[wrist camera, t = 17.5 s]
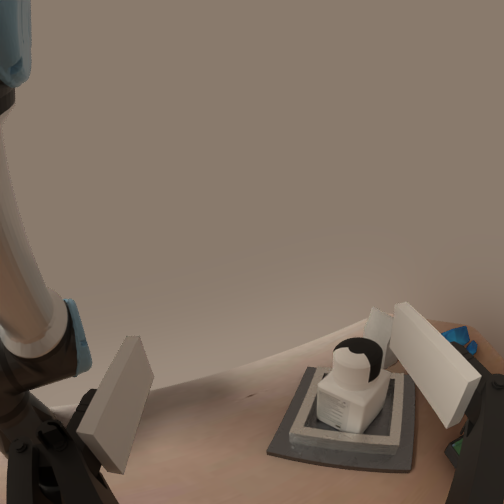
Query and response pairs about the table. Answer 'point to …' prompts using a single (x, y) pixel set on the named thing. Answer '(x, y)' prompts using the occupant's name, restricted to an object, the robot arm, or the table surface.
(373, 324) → the tea bag
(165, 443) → the table surface
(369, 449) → the collar plate
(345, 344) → the container
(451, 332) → the blue lump
